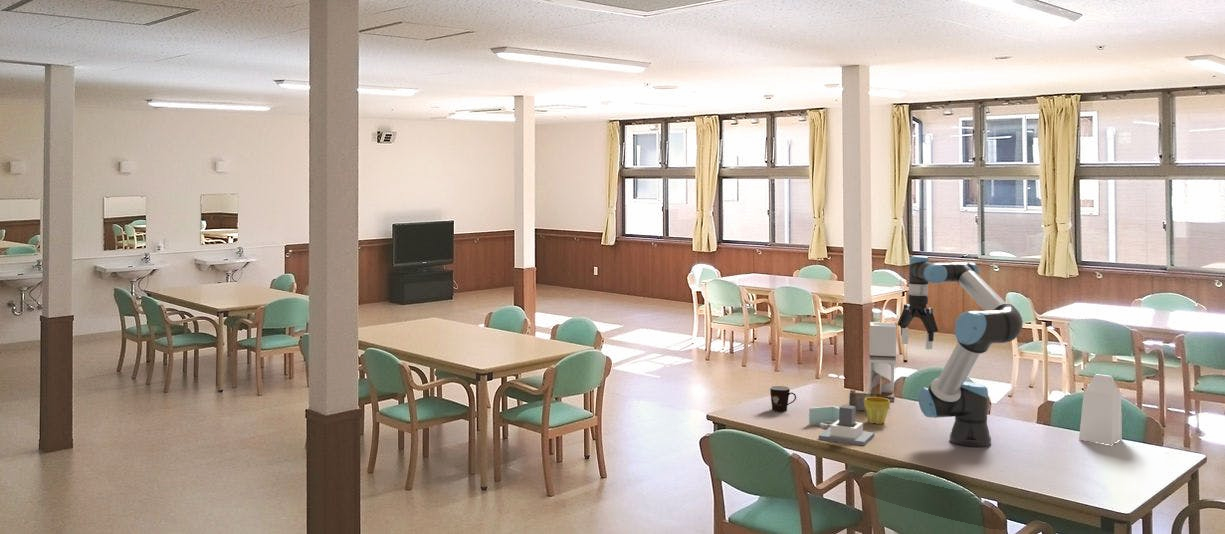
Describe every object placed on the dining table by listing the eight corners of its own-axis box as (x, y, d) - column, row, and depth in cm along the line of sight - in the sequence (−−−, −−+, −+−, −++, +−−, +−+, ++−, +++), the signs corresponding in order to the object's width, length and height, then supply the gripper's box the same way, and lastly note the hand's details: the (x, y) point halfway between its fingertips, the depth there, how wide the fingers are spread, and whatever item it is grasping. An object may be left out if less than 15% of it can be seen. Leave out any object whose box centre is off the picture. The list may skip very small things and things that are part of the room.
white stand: (868, 400, 440) (870, 325, 437) (868, 395, 450) (870, 322, 447) (894, 401, 437) (896, 326, 434) (893, 396, 447) (895, 322, 444)
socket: (874, 436, 379) (874, 422, 378) (864, 445, 366) (864, 431, 365) (830, 430, 388) (830, 417, 387) (818, 439, 375) (818, 425, 374)
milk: (1078, 440, 374) (1081, 375, 371) (1089, 434, 382) (1092, 370, 379) (1111, 446, 365) (1114, 379, 363) (1121, 440, 373) (1125, 375, 371)
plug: (854, 433, 378) (855, 406, 377) (851, 436, 373) (852, 408, 372) (842, 431, 380) (843, 404, 379) (838, 434, 376) (839, 407, 375)
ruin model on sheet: (849, 410, 422) (849, 389, 421) (849, 409, 425) (849, 387, 424) (875, 412, 419) (876, 391, 418) (875, 411, 422) (876, 389, 421)
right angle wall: (808, 425, 397) (809, 408, 396) (833, 423, 401) (834, 405, 400) (824, 432, 386) (825, 414, 385) (850, 430, 390) (850, 412, 389)
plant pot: (886, 419, 405) (887, 396, 404) (891, 425, 395) (892, 402, 394) (862, 418, 406) (862, 396, 406) (865, 425, 396) (866, 402, 395)
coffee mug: (765, 409, 423) (766, 386, 422) (781, 407, 427) (782, 385, 426) (780, 414, 413) (781, 392, 412) (797, 412, 417) (797, 390, 416)
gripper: (948, 297, 373) (946, 350, 375) (903, 290, 395) (902, 341, 397) (933, 298, 370) (932, 352, 372) (889, 291, 392) (888, 342, 394)
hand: (916, 346), depth 384 cm, fingers open, 13 cm apart
